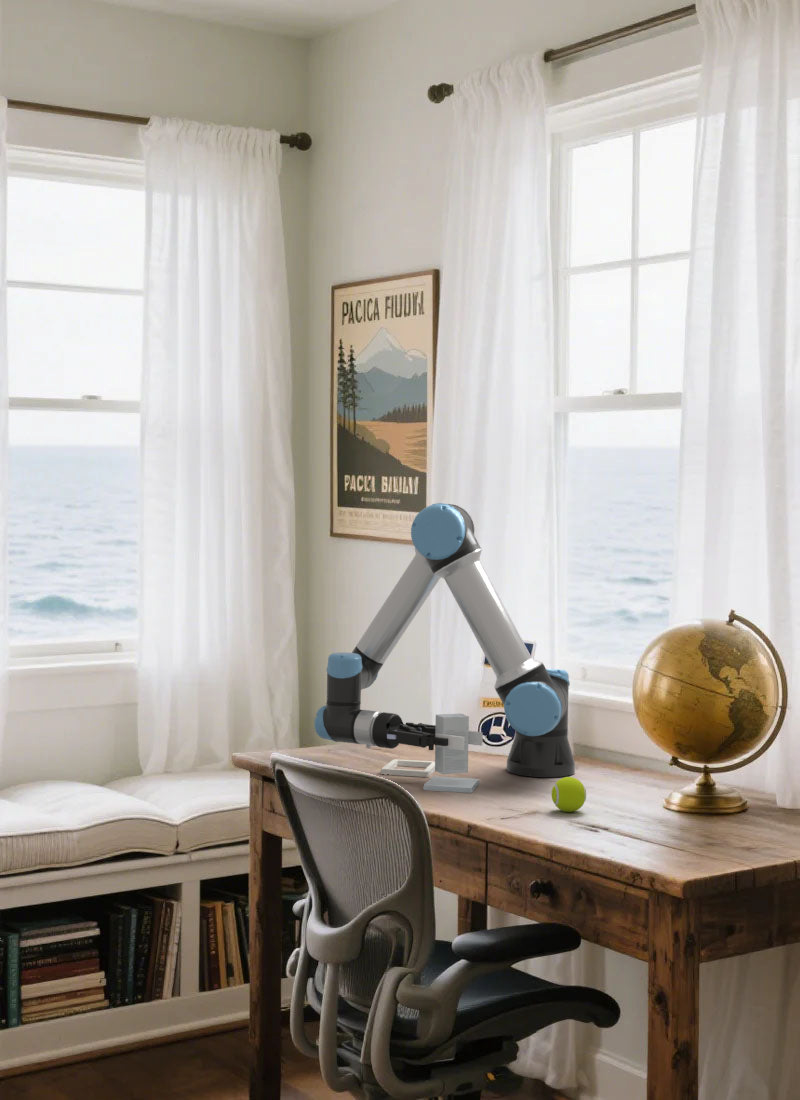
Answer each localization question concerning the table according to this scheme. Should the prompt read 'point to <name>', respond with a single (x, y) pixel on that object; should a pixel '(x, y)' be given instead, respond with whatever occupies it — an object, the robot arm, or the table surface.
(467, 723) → the skincare box
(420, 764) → the grey base tray
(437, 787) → the coaster
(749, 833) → the table surface
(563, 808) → the tennis ball
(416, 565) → the robot arm
